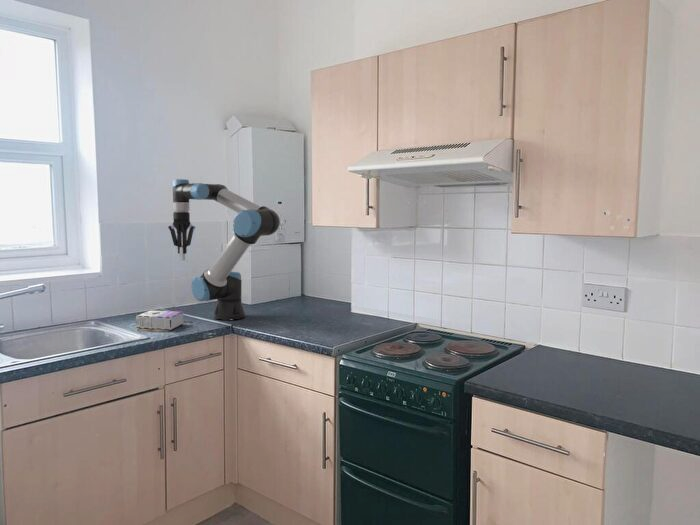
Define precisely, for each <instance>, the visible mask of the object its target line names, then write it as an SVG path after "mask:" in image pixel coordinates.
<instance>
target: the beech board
mask: <svg viewBox="0 0 700 525" xmlns="http://www.w3.org/2000/svg"><path fill="white" fill-rule="evenodd" d="M136 330H137V331H138V332H159V331H167V332H166V333H168V332H170V331H171V330H162V329H144V328H136Z"/></svg>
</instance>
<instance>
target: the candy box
mask: <svg viewBox="0 0 700 525" xmlns="http://www.w3.org/2000/svg"><path fill="white" fill-rule="evenodd" d="M183 320H184V311H178V310H177V311H176V310H175V311H173V310H148V311H145V312H143V313H140V314H137V315H136V316H135V329H139V328H144V329H162V330H170V331H172V330H174V329H177V328H178V327H179V326H182V325H183V324H184V323H183Z"/></svg>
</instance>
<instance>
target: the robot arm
mask: <svg viewBox="0 0 700 525" xmlns="http://www.w3.org/2000/svg"><path fill="white" fill-rule="evenodd" d="M190 200H197V201H201V200H208V201H209V200H210V201H211V200H212V201H216V202H217V203H219V204H221V205H223V206H225V207H227V208H229V209H230V210H233V211H234V212H236V213H237V214H236V215H235V216H234V218H233V222H232V223H233V224H232V227H233V229H232V231H233V234H232V236H231V237H230V239H229V240H228V242H226V245H225V246H224V248H223V249H222V251H221V252H220V254H219V255H218V256H217V258H216V260H215V261H214V263H213V264H212V265H211V267H208V268H206V269H205V270H204V271H203V273H202V274H201V275H200V276H196V277H194V278H193V279H192V281H191V284H190V287H191V288H190V289H191V293H192V295H193V297H194V298H195V299H196V301H198V302H209V301H214V300H217V301H216V302H217V303H216V307H215V309H214V312H213V318H215V319H214V320H217V319H222V320H221V321H231V320H230V319H239V320H241V319H240V318H243V317H245V318H246V310H245V309H244V306H243V302H242V274H241V273H240V272H238V271H233V270H234V268H235V267H236V265H237V264H238V262H240V260H241V258H242V257H243V255H244V254H245V253H246V251H247V250H248V248H249V247H250V246H252V245H255V244H256V243H257V242H258V241H259V238H261V237H265V236H270V235H273V234H275V233H276V232H277V231H278V229H279V227H280V225H281V220H280V216H279V214H278V213H277V212H276V211H274V210H272V209H271V208H270V207H267V206H265V205H262V206H260V205H259V204H256V203H255V202H252V201H250V200H248V199H246V198H244V197H242V196H240V195H238V194H237V193H234V192H232V191H231V190H229V189H228V187H227V186H226V185H225V184H220V183H218V184H217V183H214V184H213V183H201V182H196V183H194V182H193V183H190V181H189V179H183V178H181V179H179V178H175V179H173V180H172V206H173V207H172V209H173V210H172V211H173V213H172V215H173V222H172V224H171V225H169V226H167V228H168V229H169V232H170V235H171V238H172V239H171V240H172V243H173V246H175V247H177V253H178V254H179V261H181V262H183V261H186V254H187V252H188V251H187V250H188V248H187V247H189V246H191V244H192V238H193V234H194V230H195V229H196V226H195V225H192V224H191V220H190V216H191V215H190V214H191V213H190ZM243 319H244V318H243Z"/></svg>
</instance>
